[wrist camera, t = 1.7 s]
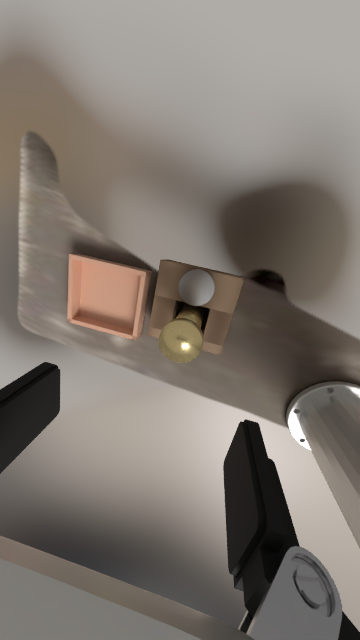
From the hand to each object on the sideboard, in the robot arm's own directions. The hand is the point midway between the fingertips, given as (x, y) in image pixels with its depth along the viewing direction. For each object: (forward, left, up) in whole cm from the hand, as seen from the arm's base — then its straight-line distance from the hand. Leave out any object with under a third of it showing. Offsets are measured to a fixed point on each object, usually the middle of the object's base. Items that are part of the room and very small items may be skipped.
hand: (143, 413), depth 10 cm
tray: (+12, +1, -20) cm, 24 cm away
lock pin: (0, 0, -20) cm, 20 cm away
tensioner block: (0, -1, -20) cm, 20 cm away
